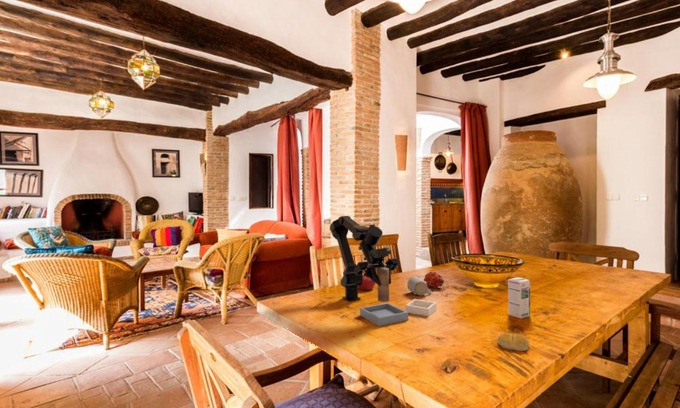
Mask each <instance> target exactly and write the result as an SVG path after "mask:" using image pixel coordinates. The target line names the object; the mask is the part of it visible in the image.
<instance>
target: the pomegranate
mask: <svg viewBox="0 0 680 408" xmlns="http://www.w3.org/2000/svg"><path fill="white" fill-rule="evenodd" d="M364 274H365V272H363V274H362V275H363V280H362V286H358V289H359V290H361V291H370V290H373V288H375V285H376V283H375V282H374V281H372V280H371V279H370V278H368V277H367V276H364Z"/></svg>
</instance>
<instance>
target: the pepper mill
mask: <svg viewBox="0 0 680 408" xmlns="http://www.w3.org/2000/svg"><path fill="white" fill-rule="evenodd" d="M377 276H378V278H379V280H380V283H381V285H380V286H379V285H377V301H378V302H381V303H389V301H390V284H389V268H378V269H377Z"/></svg>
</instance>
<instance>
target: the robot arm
mask: <svg viewBox="0 0 680 408" xmlns="http://www.w3.org/2000/svg"><path fill="white" fill-rule="evenodd" d="M329 231H330V232H331V235H332V237H333V238H334V239H335V240H336V241H337V244H338V247H339V250H340V255H341V259H342V262H343V266H344V269H343V271H342V277H341V279H340V286H342V287H343V288H344V290H345V291H344V293H345V294H344V295H345V296H342V297H341V298H342V299H344V300H346V301H348V302H353V301H359V300H361V297H359V290H358V289H359V288H358V286H362V280H363V275H364V276H367V277H368V278H370V279H371V280H372V281H374V282H375V285H377V286H378V285H379V286H380V285H381V283H380V280H379V278H378V273H377V270H378V268H389V285H391V284H392V275H391V271H392V272H393V271H395V269H397V268H398V266H399V264H400V260H399V259H398V258H396V257H393V258H388V259H387V260H386V262H384V261H385V259H386V257H389V255H391V254H392V250H391V248H390V247H389V246H385V247H382V248H376V245H378V243H379V241H380V239H381V237H382V236H383V230H382V229H381V228H380V227H378V226H376V225H375V224H369V226H366V225H361V224H359V223H358V222H357V221H355V220H354V219H352V218H351V216H350V215H341V216H339V217H338V218H337V219H335V220H333V221H332V222H331V224H330V226H329ZM349 232H350V233H351V237H352V239H354V241H355V242H360V243H359V246H358V250H359V251H362V254H363V256H364V258H363V260H364V261H359V262H357V264H356V263H355V259H354V256H353V254H352V250H351V246H350V244H349V240H348V233H349ZM363 273H364V274H363ZM362 274H363V275H362Z"/></svg>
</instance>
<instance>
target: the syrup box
mask: <svg viewBox="0 0 680 408" xmlns="http://www.w3.org/2000/svg"><path fill="white" fill-rule="evenodd" d="M507 284H508V285H507V293H508V294H507V297H508V301H507V302H508V303H507V304H508V306H507V307H508V308H507V309H508V315H509V316H512V317H514V318H518V319H523V318H528V317H531V280H530V279H528V278H523V277H513V278H508V279H507Z"/></svg>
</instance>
